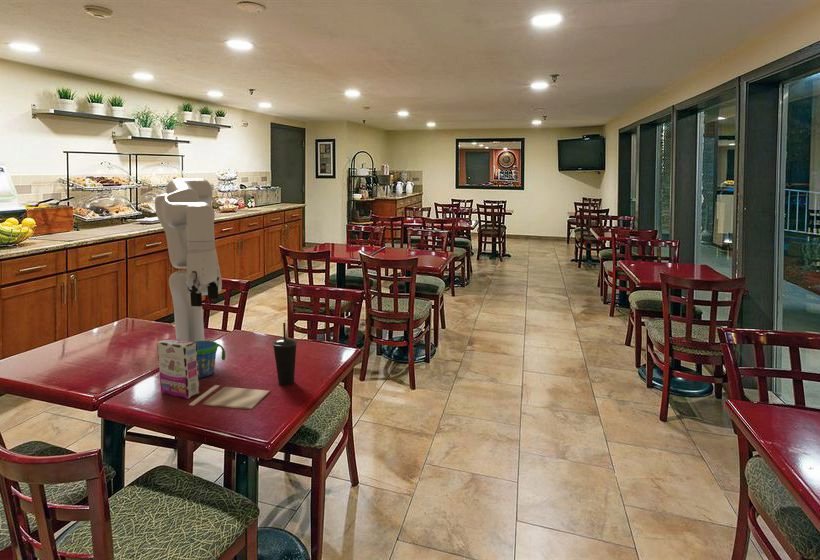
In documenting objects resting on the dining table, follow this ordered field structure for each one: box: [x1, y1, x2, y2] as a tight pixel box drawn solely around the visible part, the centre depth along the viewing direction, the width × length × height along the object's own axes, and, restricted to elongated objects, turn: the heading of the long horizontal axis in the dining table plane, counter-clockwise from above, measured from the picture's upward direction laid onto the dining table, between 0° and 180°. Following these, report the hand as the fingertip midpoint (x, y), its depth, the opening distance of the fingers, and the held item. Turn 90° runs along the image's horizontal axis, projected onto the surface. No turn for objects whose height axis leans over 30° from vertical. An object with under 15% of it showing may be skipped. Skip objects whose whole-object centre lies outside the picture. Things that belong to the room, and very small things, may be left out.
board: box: [202, 386, 271, 410], centre depth 151 cm, size 15×12×1 cm
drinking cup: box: [272, 322, 298, 387], centre depth 161 cm, size 8×8×20 cm
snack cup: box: [196, 340, 227, 379], centre depth 168 cm, size 16×10×10 cm
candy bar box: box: [156, 337, 201, 400], centre depth 152 cm, size 11×5×16 cm, turn 68°
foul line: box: [188, 384, 220, 406], centre depth 152 cm, size 2×14×1 cm, turn 171°
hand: (205, 302), depth 153 cm, fingers open, 9 cm apart
